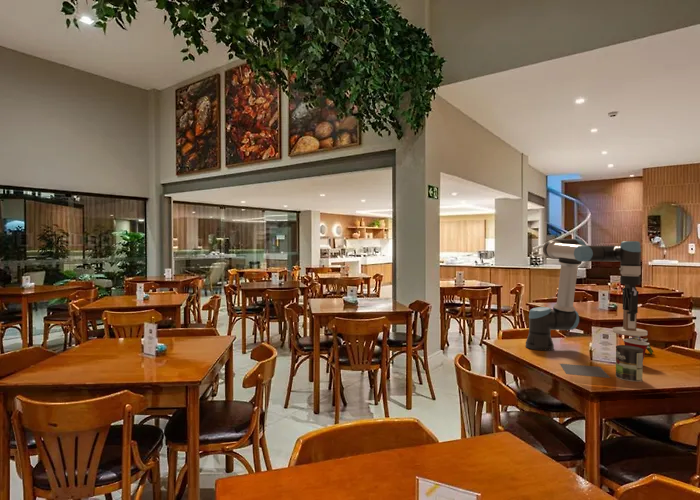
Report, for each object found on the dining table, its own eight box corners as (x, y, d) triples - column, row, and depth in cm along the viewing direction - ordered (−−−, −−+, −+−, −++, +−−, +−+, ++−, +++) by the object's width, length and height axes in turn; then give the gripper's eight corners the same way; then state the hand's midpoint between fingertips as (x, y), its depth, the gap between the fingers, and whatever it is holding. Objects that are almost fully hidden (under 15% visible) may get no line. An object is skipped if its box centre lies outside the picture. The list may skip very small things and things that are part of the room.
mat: (559, 364, 208) (559, 363, 208) (599, 367, 203) (599, 366, 203) (566, 374, 191) (566, 373, 191) (610, 379, 186) (610, 377, 186)
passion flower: (636, 363, 231) (621, 345, 233) (636, 355, 239) (622, 338, 242) (657, 355, 224) (641, 336, 226) (656, 347, 233) (642, 329, 235)
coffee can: (624, 382, 181) (624, 350, 181) (610, 375, 191) (610, 344, 191) (648, 382, 181) (649, 350, 181) (633, 375, 191) (633, 345, 191)
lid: (608, 329, 194) (609, 308, 194) (641, 331, 190) (641, 309, 190) (617, 334, 182) (617, 312, 182) (652, 337, 178) (652, 313, 178)
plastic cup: (653, 368, 203) (653, 343, 203) (628, 366, 205) (628, 342, 205) (642, 362, 214) (642, 339, 213) (619, 360, 216) (619, 337, 216)
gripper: (614, 274, 195) (614, 323, 195) (626, 276, 179) (626, 330, 179) (633, 274, 193) (632, 324, 193) (647, 276, 176) (646, 331, 176)
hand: (629, 327), depth 186 cm, fingers closed on lid, 4 cm apart
